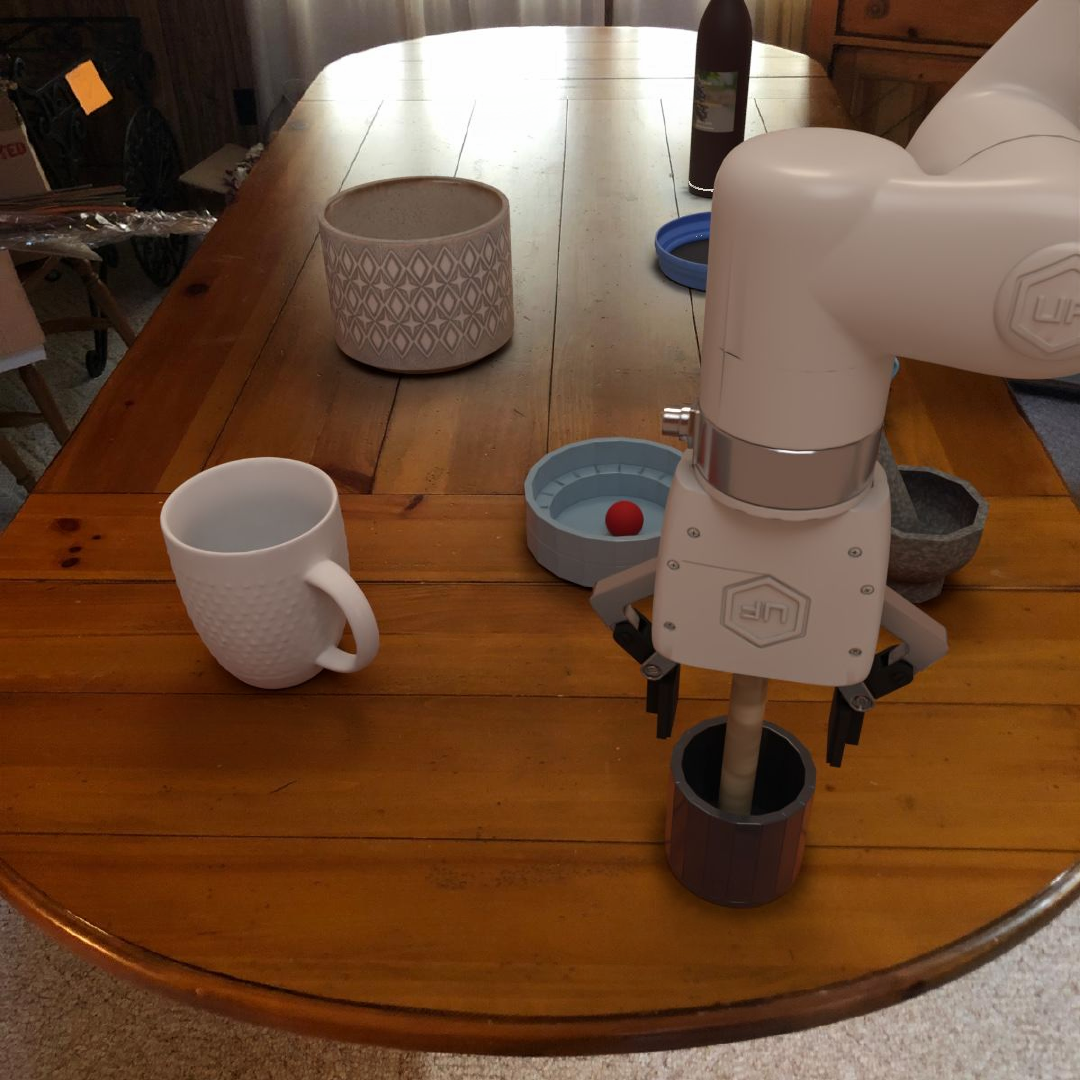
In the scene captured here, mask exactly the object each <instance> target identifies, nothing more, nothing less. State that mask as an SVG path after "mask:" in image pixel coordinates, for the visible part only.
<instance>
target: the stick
mask: <svg viewBox="0 0 1080 1080" xmlns="http://www.w3.org/2000/svg"><path fill="white" fill-rule="evenodd" d="M769 684H770V678H764V677H757V676H750V675H743V674H737V673H731V683H730V692H729V700H728V709H727V715H728V717H727V726H726V735H725V744H724V753H723V762H722V771H721V780H720V789H719V798H718V807H717V809H720V810H723V811H727V812H730V813H733V814H736V815H750V813H751V806H752V799H753V792H754V785H755V778H756V770H757V763H758V756H759V749H760V742H761V735H762V727H763V720H765V714H766V713H765V712H766V707H767V699H768V698H767V697H768V690H769Z"/></svg>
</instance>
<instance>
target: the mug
mask: <svg viewBox="0 0 1080 1080" xmlns="http://www.w3.org/2000/svg"><path fill="white" fill-rule="evenodd" d="M340 503H341V502H340V497H339V492H338V489H337V486H336V484H335V482H334V481H333V479H332V478H331V477H330V476H329V474H327V473H326V472H325V471H323V470H322V469H320V468H319V467H317V466H314V465H312V464H309V463H307V462H304V461H300V460H296V459H293V458H292V459H291V458H283V457H276V456H275V457H273V456H272V457H271V456H261V457H250V458H242V459H237V460H233V461H232V460H231V461H228V462H225V463H222V464H219V465H215V466H213V467H211V468H207V469H205V470H203V471H201V472H198V473H197V474H195V475H194V476H192V477H190V478H189V479H187V480H185V481H184V482H183V483H181V484H180V485H179V486H178V487H176V489H174V490H173V492H171V494H170V495H169V496H168V498H166V500H165V502H164V504H163V506H162V508H161V511H160V517H159V521H160V522H159V523H160V528H161V533H162V536H163V540H164V543H165V546H166V553H167V555H168V557H169V560H170V566H171V570H172V572H173V574H174V577H175V585H176V586H177V588H178V590H179V592H180V596H181V601H182V602H183V605H184V606H185V608H186V613H187V616H188V617H189V619H190V620H191V622H192V625H193V628H194V630H195V631H196V632H197V634H198V635H199V636H200V639H201V641H202V643H203V644H204V645H205V647H206V649H208V652H209V653H210V654H211V655H212V657H213V658H215V659H216V661H217V663H218V665H220V666H222V667H223V668H224V669H225V671H227V672H228V673H230V674H231V675H233V676H234V677H235V678H237V680H240V681H241V682H243V683H245V684H247V685H250V686H253V687H256V688H260V689H266V690H280V689H286V688H287V689H288V688H291V687H294V686H297V685H301V684H303V683H305V682H307V681H309V680H310V679H312V678H314V677H315V676H317V675H318V674H319V673H320V672H321V671H322V670H323V669H326V670H330V671H332V672H336V673H342V674H352V673H357V672H359V671H361V670H363V669H365V668H367V667H368V666H369V665H370V664H371V663H372V662H373V661H374V660H375V659H376V657H377V655H378V652H379V649H380V633H379V631H380V630H379V627H378V622H377V620H376V617H375V613H374V611H373V609H372V607H371V604H370V602H369V601H368V599H367V598H366V595H365V594H364V592H363V591H362V589H361V588H360V586H359V585H358V584H357V583H356V581H355V579H353V577H351V575H350V574H351V569H350V562H349V561H350V559H349V558H350V557H349V556H350V555H349V554H350V553H349V549H348V538H347V535H346V531H345V523H344V517H343V514H342V508H341V504H340ZM347 623H348V625H349V627H350V629H351V633H352V636H353V638H354V642H355V646H356V654H352V653H349V652H346V651H344V650H342V649H340V648H338V647H339V644H340V642H341V640H342V638H343V634H344V629H345V628H346V625H347Z"/></svg>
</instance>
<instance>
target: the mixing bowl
mask: <svg viewBox="0 0 1080 1080" xmlns="http://www.w3.org/2000/svg"><path fill="white" fill-rule="evenodd" d="M683 453H684V451H681V450H679V449H678V448H675V447H674V446H671V445H668V444H663V443H661V442H657V441H654V440H650V439H644V438H636V437H635V438H634V437H626V436H625V437H624V436H609V437H594V438H589V439H584V440H579V441H576V442H572V443H568V444H565V445H563V446H561V447H558V448H557V449H555V450H552V451H551V452H547V453H546V454H545V455H543V456H542V457H541V458H540V459H539V460H538V461H537V462H535V464H533V465H532V466H531V468H530V470H529V471H528V473H527V475H526V478H525V480H524V482H523V493H524V495H523V496H524V517H525V518H524V519H525V520H524V521H525V523H524V524H525V536H526V545H527V548H528V550H529V551H530V552H531V554H532V556H533V557H534V559H535V560H536V561H537V563H538V564H540V565H541V566H542V567H544V568H545V569H546V570H548V571H550V572H551V573H552V574H554V575H555V576H556V577H558V578H560V579H563V580H566V581H568V582H572V583H574V584H577V585H579V586H582V587H587V588H593V587H594V585H595V583H596V582H597V581H599V580H601V579H604V578H606V577H608V576H611V575H613V574H616V573H618V572H621V571H623V570H625V569H628V568H630V567H633V566H635V565H638V564H640V563H642V562H645V561H647V560H650V559H652V558H655V557H657V556H658V552H659V544H660V537H661V530H662V523H663V518H664V512H665V507H666V502H667V498H668V494H669V490H670V487H671V483H672V480H673V477H674V474H675V471H676V468H677V465H678V463H679V462H680V460H681V457H682V455H683ZM619 501H630V502H633V503H635V504H636V505H637V506H638V507H639V508H640V509H641V511H642V513H643V516H644V523H643V527H642V529H641V531H640V532H639V533H638V534H637V535H636V536H620V537H614V536H613V535H612V534H611V533H610V532H609V531H608V529H607V527H606V524H605V516H606V513H607V511H608V509H609V508H610V507H611V506H612V505H613V504H614V503H616V502H619Z"/></svg>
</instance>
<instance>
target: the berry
mask: <svg viewBox="0 0 1080 1080" xmlns="http://www.w3.org/2000/svg"><path fill="white" fill-rule="evenodd" d="M643 523H644V516H643V513H642V511H641V509H640V508H639V507H638V506H637V505H636V504H635V503H633V502H630V501H619V502H616V503H614V504H613V505H612V506H611V507H610V508H609V509H608V511H607V513H606V516H605V524H606V527H607V529H608V531H609V532H610V533H611V534H612V535H613V536H614V537H620V536H636V535H637V534H638V533H639V532H640V531H641V529H642V527H643Z"/></svg>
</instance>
